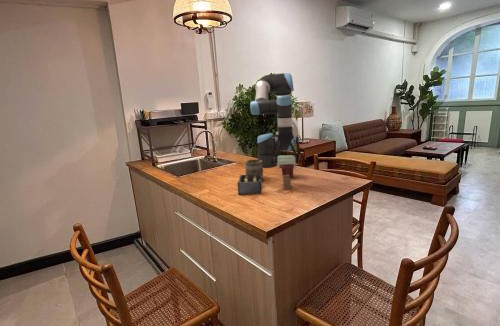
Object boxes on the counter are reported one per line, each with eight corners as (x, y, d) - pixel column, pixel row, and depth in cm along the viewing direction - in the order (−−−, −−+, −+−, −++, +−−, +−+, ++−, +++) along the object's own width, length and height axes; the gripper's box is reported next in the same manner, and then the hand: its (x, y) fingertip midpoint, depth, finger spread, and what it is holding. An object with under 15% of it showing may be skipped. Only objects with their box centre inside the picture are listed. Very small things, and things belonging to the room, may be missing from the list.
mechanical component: (298, 176, 169) (291, 180, 161) (284, 174, 175) (276, 178, 167) (298, 156, 166) (290, 160, 158) (284, 155, 172) (275, 158, 164)
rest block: (283, 185, 152) (282, 175, 151) (289, 185, 152) (289, 174, 151) (284, 189, 145) (283, 179, 143) (291, 189, 144) (290, 178, 143)
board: (278, 159, 152) (278, 155, 151) (292, 158, 151) (292, 155, 151) (279, 164, 140) (279, 160, 140) (294, 163, 140) (294, 160, 139)
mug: (262, 183, 160) (261, 163, 157) (244, 183, 162) (243, 163, 159) (265, 175, 175) (264, 157, 172) (249, 176, 177) (248, 158, 174)
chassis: (240, 185, 157) (240, 174, 156) (261, 184, 156) (261, 173, 155) (238, 194, 141) (237, 182, 140) (261, 194, 141) (260, 181, 139)
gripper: (265, 128, 138) (267, 171, 144) (306, 125, 137) (307, 169, 142) (265, 126, 145) (267, 167, 151) (304, 124, 144) (304, 165, 150)
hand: (286, 168), depth 147 cm, fingers closed on board, 8 cm apart
